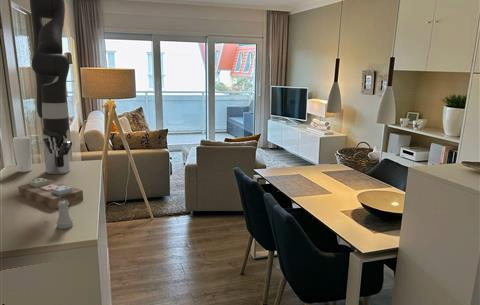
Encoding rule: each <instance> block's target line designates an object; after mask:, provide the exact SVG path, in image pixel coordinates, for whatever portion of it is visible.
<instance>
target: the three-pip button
mask: <svg viewBox="0 0 480 305" xmlns="http://www.w3.org/2000/svg"><path fill="white" fill-rule="evenodd" d="M46 179H47V178H46ZM46 179H45V178H42V177H39V178H35V179H30V180H28V184H29V185H30V186H33V187H36V188H37V187H40V186H44V185H48V180H46Z"/></svg>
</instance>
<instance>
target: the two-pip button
mask: <svg viewBox="0 0 480 305" xmlns="http://www.w3.org/2000/svg"><path fill="white" fill-rule="evenodd" d="M65 185H66V184H65ZM65 185H63V186H59V187H55V188H52V193H53V194H55V195H58V196H61V195H65V194H68V193H71V192H72V188H71V187H72V186H71V187H68V186H69V185H68V186H65Z"/></svg>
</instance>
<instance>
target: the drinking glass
mask: <svg viewBox="0 0 480 305" xmlns="http://www.w3.org/2000/svg"><path fill="white" fill-rule="evenodd" d="M12 147H13V152H14V156H15V162H16V166H17V171H18V173H27V172H28V173H29V172H31V171H32V170H33V165H32V154H33V153H32V151H33V150H32V149H33V147H32V139H31V136H24V135H23V136H16V137H12Z"/></svg>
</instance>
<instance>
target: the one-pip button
mask: <svg viewBox="0 0 480 305" xmlns="http://www.w3.org/2000/svg"><path fill="white" fill-rule="evenodd" d="M55 187H59V186H56V185H53V184H51V185H47V186H44V187H40V188H41V190H44V191H47V192H48V191H52V188H55Z"/></svg>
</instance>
